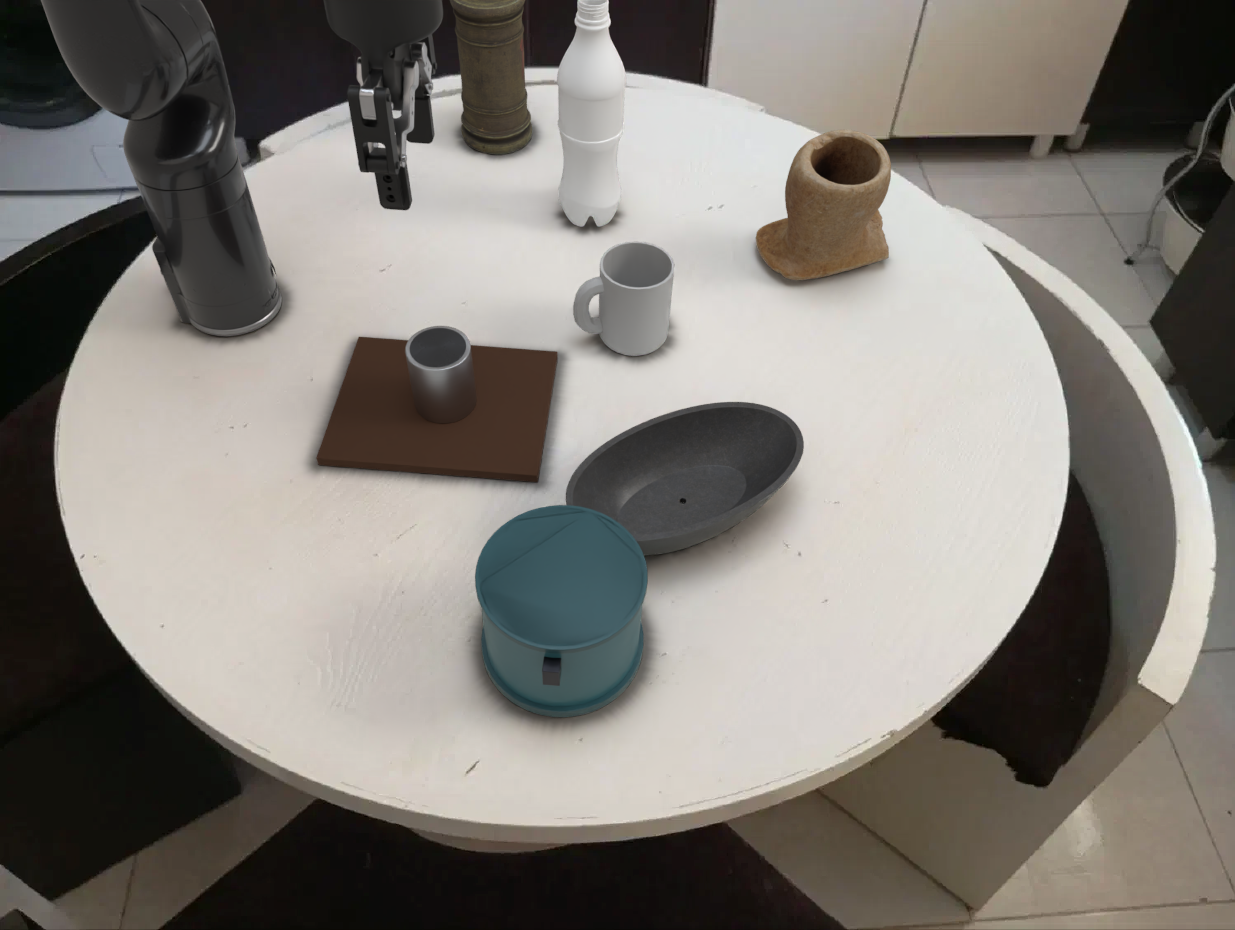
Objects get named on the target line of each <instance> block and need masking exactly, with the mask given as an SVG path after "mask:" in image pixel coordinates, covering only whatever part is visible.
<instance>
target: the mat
mask: <svg viewBox="0 0 1235 930" xmlns="http://www.w3.org/2000/svg"><path fill="white" fill-rule="evenodd" d="M408 340H409V339H397V338H381V337H371V336H358V338H357V340H356V343H355V346H354V349H353V352H352V355H351V358H350V360H349V363H348V366H347V369H346V372H345V375H344V377H343V380H342V383H341V386H340V389H339V392H338V396H337V398H336V401H335V403H334V406H333V409H332V411H331V414H330V416H329V417H330V418H329V421H328V423H327V426H326V429H325V432H324V435H323V436H322V440H321V442H320V446H319V448H318V452H317V454H316V457H315V459H316V463H317V465H318V466H325V467H326V466H327V467H340V468H351V469H352V468H353V469H365V470H376V471H377V470H378V471H390V472H402V473H416V474H427V475H428V474H429V475H440V476H441V475H442V476H453V477H466V478H479V479H490V480H492V479H493V480H504V481H518V482H531V483H538V482H539V478H540V473H541V472H540V471H541V466H542V460H543V452H544V447H545V440H546V434H547V427H548V422H549V415H550V409H551V402H552V397H553V391H554V384H555V378H556V371H557V366H558V359H559V357H558V353H559V352H558V351H557V350H556V351H555V350H554V351H553V350H542V349H541V350H540V349H530V348H529V349H528V348H526V349H525V348H515V347H500V346H490V345H489V346H487V345H477V344H471V352H472V362H473V371H474V380H475V389H476V399H477V400H476V405H475V407H474V409H473V411H472V412H471V413H470V414H469V415H468V416H466V417H465V418H463V419H461V420H459V421H456V422H453V423H445V424H442V423H434V422H431V421H428V420H426V419H424V418H423V417H422V416H421V415H420V414H419V413H418V412H417V410H416V408H415V403H414V397H413V392H412V386H411V381H410V375H409V370H408V364H407V359H406V353H405V348H406V344H407V342H408Z"/></svg>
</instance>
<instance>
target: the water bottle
mask: <svg viewBox="0 0 1235 930" xmlns="http://www.w3.org/2000/svg"><path fill="white" fill-rule="evenodd" d="M609 4H610V2H609V0H577V6H576V7H577V12H576V13H575V18H574V25H575V26H576V29H575V33H574V37H573V39H572V40H571V42H570V44H569V46H568V48H567V50H566V51H565V53H564V55H563V57H562V59H561V60H560V63H559V66H558V70H557V75H556V84H557V99H558V100H557V101H558V102H557V103H558V105H557V106H558V107H557V108H558V109H557V111H558V113H557V114H558V120H557V127H558V131H559V134H560V141H561V146H562V160H563V162H562V174H561V178H560V183H559V185H558V189H557V191H558V192H557V193H558V194H557V195H558V201H559V202H558V203H559V205H560V207H561V209H562V210H563V212H564V215H565V216H566V217H567V219H568V220H569V221H570V222H571V223H572V224H573V225H575V226H577V227H581V228H582V227H583V228H584V227H585V225H586V223H588V220H589V218H590V217H592V219H593V221H594V223H595V225H596V227H603V226H605V225H607V224H609V223H610V222H611V220H613V218H614V216H615V215H616V212H617V210H618V209H619V206H620V203H621V201H622V193H623V191H622V185H621V180H620V173H619V167H618V152H619V146H620V141H621V138H622V136H623V133H624V130H625V124H624V122H625V120H624V119H625V98H626V97H625V95H626V87H627V73H626V69H625V66H624V62H623V61H622V58H621V56H620V54H619V52H618V50H617V48H616V47H615V44H614V42H613V41H612V38H611V35H610V29H609V28H610V26H611V24H612V23H611V22H612V21H611V18H610V13H609Z"/></svg>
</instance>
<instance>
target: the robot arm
mask: <svg viewBox="0 0 1235 930" xmlns="http://www.w3.org/2000/svg"><path fill="white" fill-rule="evenodd" d="M40 2H41V4H42V7H43V11H44V12H45V16H46V18H47V21H48V24H49V27H50V30H51V32H52V33H51V34H52V36H53V38H54V40H55V43H56V45H57V47H58V50H59V52H60V54H61V55H60V56H61V57H62V59H63V61H64V63H65V65H66V66H67V68H68V70H69V71H70V74H71V75H72V77H73V78H74V79H75V81H76V82H77V84H78V85H79V87H80V88H81V89H82V90H83V91H84V93H86V94H87V95H88V96H89V98H90V99H92V100H93V101H94V102H95V103H96V104H97V105H99V106H100V107H101V108H103V109H104V110H106V111H107V112H108V113H110V114H112V115H114V116H117V117H118V118H120V119H123V120H128V121H127V124H126V128H125V131H124V133H123V139H122V145H123V146H122V147H123V154H124V157H125V159H126V161H127V165H128V167H129V169H130V172H131V174H132V177H133V179H134V182H135V184H136V187H137V189H138V192H139V194H140V196H141V199H142V202H143V204H144V207H145V209H146V212H147V214H148V217H149V220H150V222H151V223H152V227H153V229H154V232H155V234H156V238H155V239H154V241H153V243H152V246H151V249H152V253H153V254H154V258H155V260H156V262H157V265H158V267H159V271H160V274H161V276H162V277H163V280H164V282H165V285H166V287H167V290H168V291H169V292H168V293H169V294H170V296H171V299H172V301H173V304H174V307H175V309H176V312H177V314H178V316H179V319H180V321H181V323H184V324H185V323H186V324H191V325H192V326H193V327H194V328H195V329H197V330H198V331H200V332H202V333H204V334H207V335H211V336H216V337H235V336H241V335H245V334H248V333H251V332H254V331H256V330H258V329H261V328H262V327H263V326H266V325H267V324H268V323H270V322H271V321H273V319H274V318H275V317H276V315H277V314H278V313H279V311H280V309H281V307H282V303H283V302H282V301H283V298H282V297H283V296H282V293H281V290H280V288H279V287H280V286H279V285H278V282H277V279H276V277H278V274H277V272H276V268H275V266H274V264H273V262H272V260H271V258H270V256H269V253H268V250H267V249H268V248H267V247H266V246H267V245H266V243H265V238H264V236H263V233H262V229H261V225H260V222H259V219H258V216H257V212H256V208H255V206H254V202H253V199H252V196H251V191H250V189H249V186H248V185H249V184H248V182H247V179H246V176H245V172H244V169H243V165H242V162H241V158H240V155H239V152H238V148H237V145H236V142H235V130H236V123H237V122H236V119H237V117H236V108H235V105H234V103H235V102H234V99H233V94H232V91H231V85H230V82H229V78H228V73H227V69H226V65H225V61H224V57H223V53H222V48H221V44H220V42H219V38H218V35H217V32H216V29H215V26H214V23H213V21H212V18H211V17H210V14H209V13H208V11H207V8H206V7H205V4H204V3H203V2H202V0H40ZM323 5H324V10H325V14H326V20H327V23H328V26H329V27H330V29H331V30H332V32H333V33H335V35H337V36H338V37H339V38H341V39H342V40H344V41H347V42H348V43H350V44H352V45H353V46H354V47H356V48H357V50H358V51H359V52H360V56H358V57H357V60H356V80H357V82H358V83H359V85H355V84H354V85H353V84H349V85H348V87H347V90H346V99H347V103H348V109H349V114H350V115H349V116H350V120H351V127H352V133H353V139H354V143H355V144H354V145H355V150H356V156H357V164H358V168H359V171H360V173H367V174H368V173H374V178H375V184H376V191H377V194H378V195H377V196H378V199H379V204H380V207H382V208H383V209H385V210H394V211H408V210H409V209H410V208H411V205H412V203H413V196H412V191H411V189H412V188H411V182H410V176H409V169H408V162H407V161H408V156H407V142H409V143H411V144H422V145H423V144H424V145H429V144H431V143H433V141H434V138H435V135H436V134H435V126H434V116H433V109H432V101H431V95H432V94H433V90H434V83H433V80H432V75H435V74H436V70H437V69H438V63H437V61H436V53H435V46H434V39H433V34H434V33H435V32H436V31H437V29H438V28H439V27H440V25H441V24H442V22H443V18H444V7H443V0H323ZM393 111H396V112H400V116H399V117H396V118H395V117H394V114H393ZM379 144H381V145H383V146H384V147H381V146H379ZM275 276H276V277H275Z"/></svg>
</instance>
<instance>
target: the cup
mask: <svg viewBox="0 0 1235 930" xmlns="http://www.w3.org/2000/svg"><path fill="white" fill-rule="evenodd" d="M599 261H600V262H599V276H595V277H591V278H590V279H588V280H586V281H585V282H584V283H582V284H581V285H580V286H579V287H578V289H577V291H576V293H575V296H574V301H573V305H572V316H573V319H574V322H575V324H576V325H577V326H578V328H579V329H581V330H582V331H584V332H586V333H588V334H593V335H598V334H599V337H600V339H601V340H602V343H604V345H606V346H607V348H609V349H610V350H612V351H613V352H614V353H615V352H616V353H617V354H621V355H625V356H630V357H631V356H632V357H638V356H645V355H648V354H651V353H653V352H655V351H657V350H658V349H659V348H661V346H663V345H664V344H665V342H666V341H667V338H668V335H669V327H670V317H671V307H672V306H671V305H672V298H673V297H672V296H673V287H674V277H675V261H674V259H673V256H672V255H671V254H670V253H669V252H668V251H667V250H665V249H664V248H663V247H662V246H661V247H660V246H658V245H657V244H654V243H650V242H646V241H638V240H634V241H625V242H624V241H623V242H621V243H617V244H615V245H613V246H611V247H609V248H607V250H606V251H604V253H603V254H602V256H601V257H600V260H599ZM597 295H598V316H595V317H594V316H593V317H592V316H591V313H590V303H591V301H592V299H593V298H594V297H595V296H597Z"/></svg>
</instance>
